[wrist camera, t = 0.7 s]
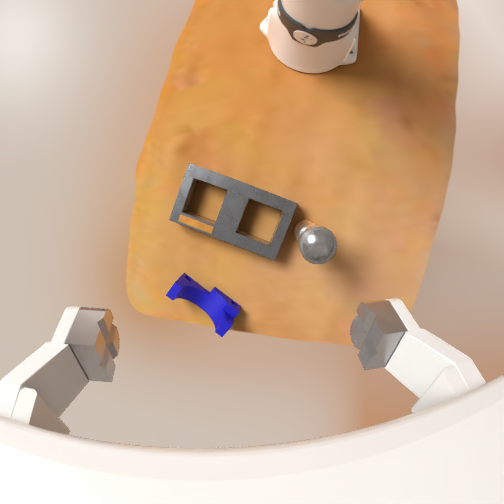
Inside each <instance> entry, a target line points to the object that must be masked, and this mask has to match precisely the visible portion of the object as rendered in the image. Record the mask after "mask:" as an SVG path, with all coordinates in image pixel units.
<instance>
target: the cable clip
mask: <svg viewBox="0 0 504 504" xmlns="http://www.w3.org/2000/svg"><path fill="white" fill-rule="evenodd" d="M166 296H168V297H169V298H170V299H172V300H174V299H176V298H182V299H186V300H189V301H191V302H193V303H195V304H196V305H198V306H199V307H200V308H202V309H203V310H204V311H205V312H206V313H207V314H208V315H209V316H210V318H211V319H212V321H213V322H214V325H215V328H216V331H215V332H216V333H217V334H219V335H220V336H221V337H223V335H224V334H225V333H226V332H227V331H228V330H229V329H230V328H231V326H232V325H233V321H234V318H235V317H236V316H237V314H238V313H239V312H240V307H241V306H240V305H238V304H237V303H236V302H234V301H233V300H232V299H230V298H229V297H228V296H226V295H225V294H224V293H222V292H221V291H220V290H218V289H217V288H216V287H214V288H213V290H212V291H211V292H209V291H207V290H206V289H205V288H203V287H202V286H201V285H199V284H198V283H197V282H195V281H194V280H193V279H192V278H190V277H189V276H188V275H186V274H185V273H184V274H183V275H182V276H181V277H180V278H179V279H178V280H177V281H176V282H175V283H174V285H173V286H172V287H171V289H170V290H169V292H168V293H167V294H166Z"/></svg>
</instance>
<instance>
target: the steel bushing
mask: <svg viewBox="0 0 504 504" xmlns="http://www.w3.org/2000/svg"><path fill="white" fill-rule="evenodd" d="M294 235H295V238H296V239H297V241H298V243H299V249H300V252H301V254H302V256H303V257H304V258H305V259H306V260H307V261H308V262H310V263H313V264H323V263H325V262H327V261H329V260H330V259H331V258H332V257H333V256H334V254H335V252H336V248H337V242H336V238H335V236H334V235H333V233H332V232H331V231H330V230H328V229H327V228H325V227H322V226H318V225H316V224H315V223H313V222H312V221H310V220H303V221H300V222H299V223H298V224H297V225H296V227H295V229H294Z"/></svg>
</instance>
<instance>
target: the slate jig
mask: <svg viewBox="0 0 504 504" xmlns="http://www.w3.org/2000/svg"><path fill="white" fill-rule="evenodd" d="M198 180H201V181H204V182H207V183H210V184H212V185H215V186H218V187H221V188H223V189H226V190H228V191H227V193H226V196H225V199H224V201H223V204H222V207H221V210H220V212H219V215H218V218H217V220H216V221H213V220H211V219H208V218H205V217H203V216H200V215H197V214H195V213H192V212H190V211H187V209H188V206H189V203H190V201H191V198H192V195H193V192H194V189H195V187H196V184H197V181H198ZM249 199H253V200H255V201H258V202H261V203H263V204H266V205H268V206H271V207H273V208H276V209H278V210H281V211H282V213H281V216H280V218H279V221H278V223H277V226H276V228H275V231H274V233H273V236H272V238H271V241H270V242H268V241H265V240H263V239H260V238H258V237H255V236H252V235H250V234H247V233H245V232H242V231H240V230H238V227H239V225H240V222H241V220H242V217H243V214H244V212H245V209H246V206H247V204H248V201H249ZM296 207H297V203H295V202H292V201H290V200H287V199H285V198H282V197H280V196H277V195H275V194H272V193H269V192H267V191H264V190H262V189H259V188H257V187H254V186H251V185H249V184H246V183H243V182H241V181H238V180H235V179H232V178H230V177H227V176H224V175H221V174H219V173H216V172H213V171H210V170H207V169H204V168H202V167H199V166H196V165H193V164H190V163H189V165H188V168H187V170H186V173H185V176H184V179H183V181H182V184H181V187H180V190H179V193H178V196H177V199H176V201H175V204H174V207H173V210H172V213H171V216H170V221H173V222H176V223H178V224H181V225H183V226H186V227H189V228H191V229H194V230H196V231H199V232H202V233H204V234H207V235H209V236H212V237H215V238H217V239H220V240H222V241H225V242H228V243H230V244H233V245H235V246H238V247H241V248H243V249H246V250H248V251H251V252H254V253H256V254H259V255H261V256H264V257H267V258H269V259H272V260H274V261H275V259H276V256H277V254H278V251H279V249H280V246H281V244H282V241H283V239H284V236H285V234H286V232H287V229H288V227H289V224H290V222H291V219H292V217H293V214H294V212H295V209H296Z"/></svg>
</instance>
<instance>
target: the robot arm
mask: <svg viewBox="0 0 504 504" xmlns="http://www.w3.org/2000/svg"><path fill="white" fill-rule="evenodd" d="M362 2H363V0H275V1H274V3H273V6H274V7H273V8H271V9H270V10H269V14H268V16H267V17H266V18H265V19H264V20H263V21H262V23H261V24H260V31H261V32H262V33H263V34H264V35H265V36H266V37H267V39H268V41H269V44H270V47H271V49H272V51H273V53H274V55H275V56H276V57H277V58H278V59H279V60H280V61H281V62H282V63H283V64H285V65H286V66H288V67H290V68H292V69H294V70H297V71H300V72H305V73H322V72H326V71H329V70H331V69H333V68H335V67H337V66H339V65H347V64H353V63H355V61H356V59H357V48H358V35H359V20H360V8H359V7H360V6H361V4H362ZM350 52H352V54H351V53H350ZM357 313H358V316H357V317H356V318H355V319H354V320H353V321H352V324H351V328H350V335H351V340H352V343H353V345H354V346H355V347H356V348H358V349H359V350H360V352H359V355H358V356H359V359H360V361H361V363H362V365H363V368H364V370H369V369H375V368H381V367H385V368H386V369H387V370H388V371H389V372H390V373H391V374H392V375H394V376H395V377H396V378H397V379H398V380H399V381H401V382H402V383H403V384H404V385H405V386H406V387H407V388H408V389H409V390H411V391H412V392H413V393H414V394H415V395H416V396H417V397H419V400H418V401H417V402H416V403H415V404H414V405H413V407H412V409H411V411H412V413H413V414H410V415H407V416H404V417H401V418H398V419H394V420H391V421H388V422H384V423H381V424H377V425H373V426H370V427H366V428H362V429H357V430H353V431H349V432H344V433H340V434H335V435H331V436H326V437H319V438H314V439H308V440H301V441H294V442H287V443H279V444H270V445H259V446H248V447H230V448H169V447H152V446H139V445H130V444H121V443H113V442H106V441H100V440H94V439H87V438H82V437H77V436H72V435H69V432H70V430H69V428H68V427H67V426H66V425H65V424H64V423H63V422H62V420H60V418H59V417H60V415H61V414H62V413H63V412H64V411H65V409H66V408H67V407H68V406H69V404H70V403H71V402H72V401H73V400H74V399H75V398H76V396H77V395H78V394H79V393H80V392H81V390H82V389H83V388H84V387H85V386H86V384H87V383H88V382H89V380H92V381H104V382H112V379H113V375H114V370H115V364H114V361H113V359H114V358H115V357H116V356H117V355H118V352H119V333H118V330H117V327H116V326H114V325H113V324H112V321H113V315H112V312H111V310H109V309H100V308H88V307H71V306H69V307H67V308H66V309H65V311H64V313H63V316H62V318H61V320H60V322H59V325H58V327H57V329H56V331H55V334H54V336H53V339H52V341H51V342H47V343H45V344H44V345H43V346H42V347H40V348H39V349H38V350H37V351H36V352H34V353H33V354H32V355H30V356H29V357H28V358H27V359H26V360H25V361H23V362H22V363H21V364H19V365H18V366H17V367H16V368H15V369H14V370H12V371H11V372H10V373H9V374H7V375H6V376H5V377H4V378H3V379H2V380H1V381H0V504H504V375H502V376H500V377H498V378H496V379H494V380H492V381H490V382H488V383H486V382H485V381H484V379H483V377H482V376H481V374H480V372H479V371H478V369H477V367H476V366H475V364H474V363H473V361H472V359H471V358H469V357H468V356H466V355H465V354H463V353H462V352H460V351H458V350H457V349H455V348H453V347H452V346H451V345H449V344H447V343H446V342H444V341H443V340H441V339H439V338H438V337H436V336H434V335H433V334H431V333H430V332H428V331H427V330H425V329H420V328H419V327H418V325H417V323H416V322H415V320H414V319H413V317H412V316H411V314H410V313H409V311H408V310H407V308H406V307H405V305H404V304H403V302H402V301H401V300H400V299H398V298H395V299H386V300H378V301H368V302H361V303H360V304H359V306H358V308H357Z"/></svg>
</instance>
